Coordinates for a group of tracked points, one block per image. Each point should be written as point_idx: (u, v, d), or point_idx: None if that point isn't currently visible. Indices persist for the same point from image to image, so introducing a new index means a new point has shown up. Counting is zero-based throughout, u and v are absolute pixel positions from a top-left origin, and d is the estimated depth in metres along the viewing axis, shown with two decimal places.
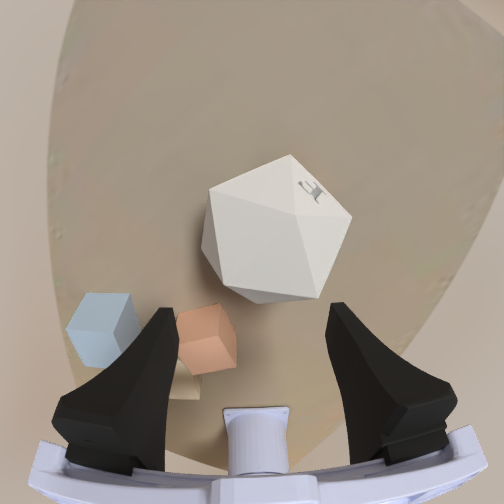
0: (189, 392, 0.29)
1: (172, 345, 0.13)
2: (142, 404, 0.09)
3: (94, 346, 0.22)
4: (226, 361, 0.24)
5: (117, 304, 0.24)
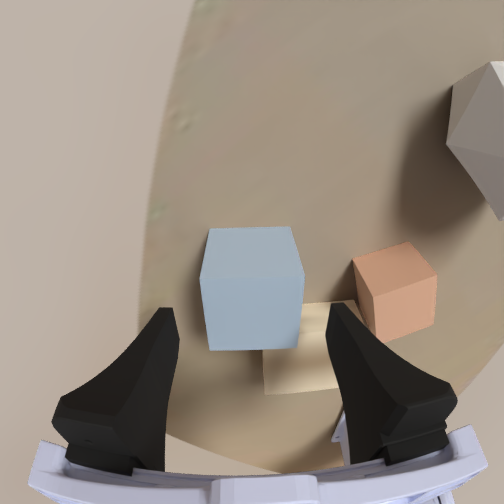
0: None
1: (172, 345, 0.13)
2: (142, 404, 0.09)
3: (250, 309, 0.14)
4: (427, 316, 0.16)
5: (280, 239, 0.16)
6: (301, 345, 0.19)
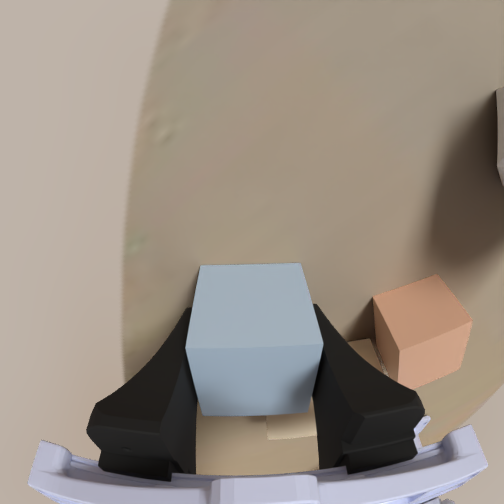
0: None
1: None
2: (180, 407, 0.09)
3: (252, 378, 0.11)
4: (454, 362, 0.13)
5: (289, 284, 0.13)
6: None
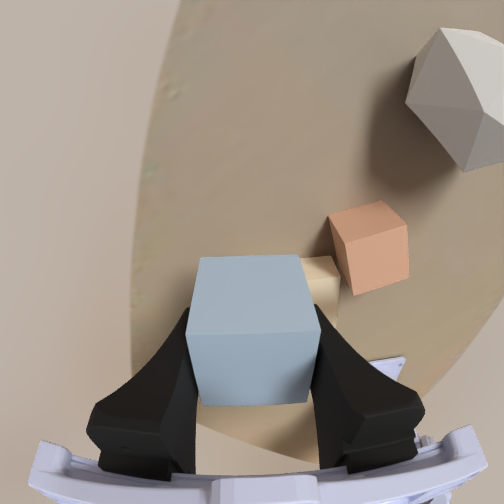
0: None
1: None
2: (179, 407, 0.09)
3: (251, 366, 0.11)
4: (401, 268, 0.18)
5: (287, 274, 0.13)
6: None
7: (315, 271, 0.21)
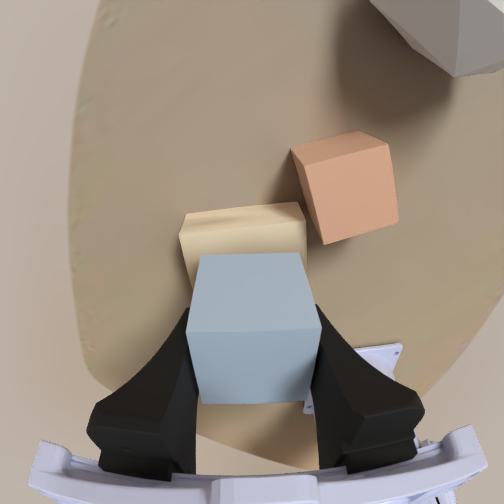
0: None
1: None
2: (180, 407, 0.09)
3: (251, 364, 0.11)
4: (387, 208, 0.14)
5: (288, 272, 0.13)
6: (228, 249, 0.16)
7: (274, 216, 0.16)
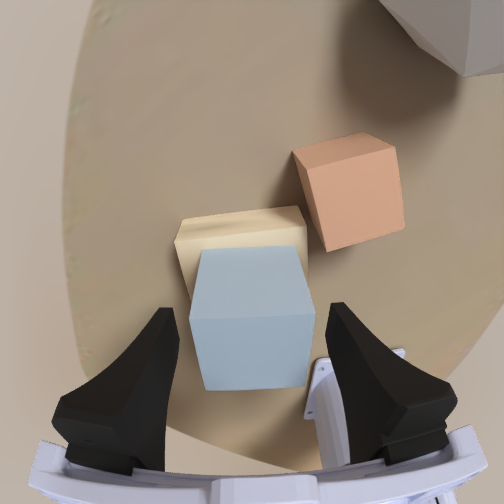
0: None
1: (172, 345, 0.13)
2: (142, 404, 0.09)
3: (251, 350, 0.12)
4: (393, 213, 0.13)
5: (284, 263, 0.14)
6: None
7: (273, 221, 0.16)
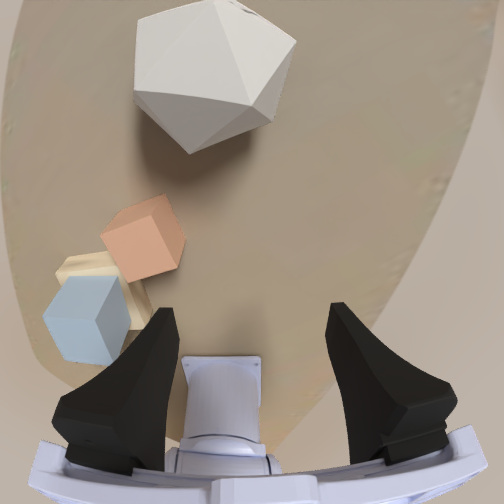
0: (132, 317, 0.24)
1: (172, 345, 0.13)
2: (142, 404, 0.09)
3: (74, 337, 0.18)
4: (164, 258, 0.20)
5: (102, 288, 0.20)
6: None
7: (107, 261, 0.22)
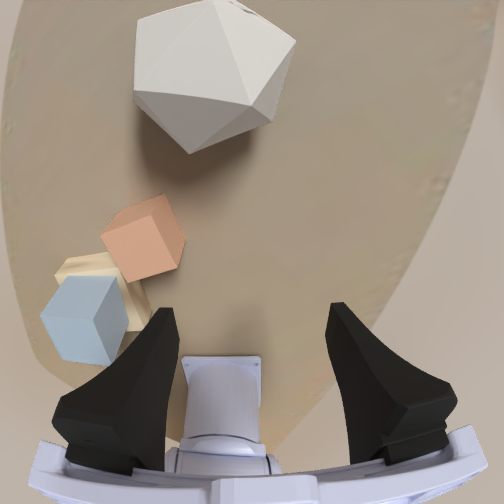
0: (131, 319, 0.24)
1: (172, 345, 0.13)
2: (142, 404, 0.09)
3: (72, 336, 0.18)
4: (164, 258, 0.20)
5: (100, 288, 0.20)
6: None
7: (106, 262, 0.22)
